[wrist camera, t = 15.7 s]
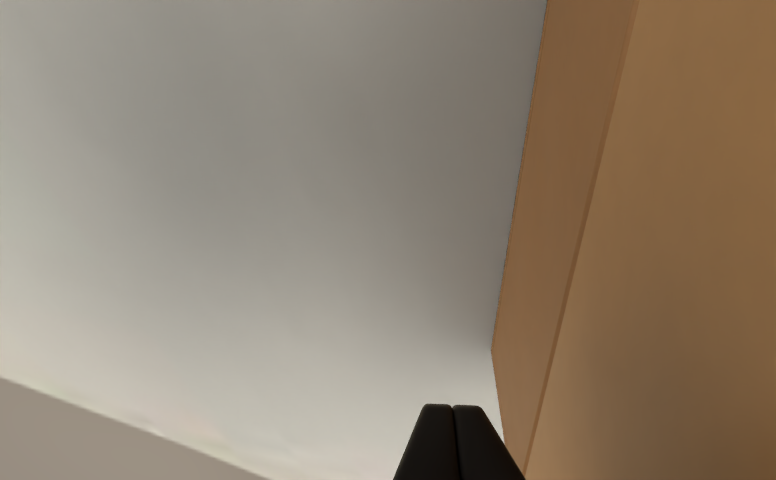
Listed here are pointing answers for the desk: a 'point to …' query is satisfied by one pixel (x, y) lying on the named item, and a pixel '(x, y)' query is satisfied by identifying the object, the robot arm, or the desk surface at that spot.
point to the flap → (676, 263)
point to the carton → (554, 199)
